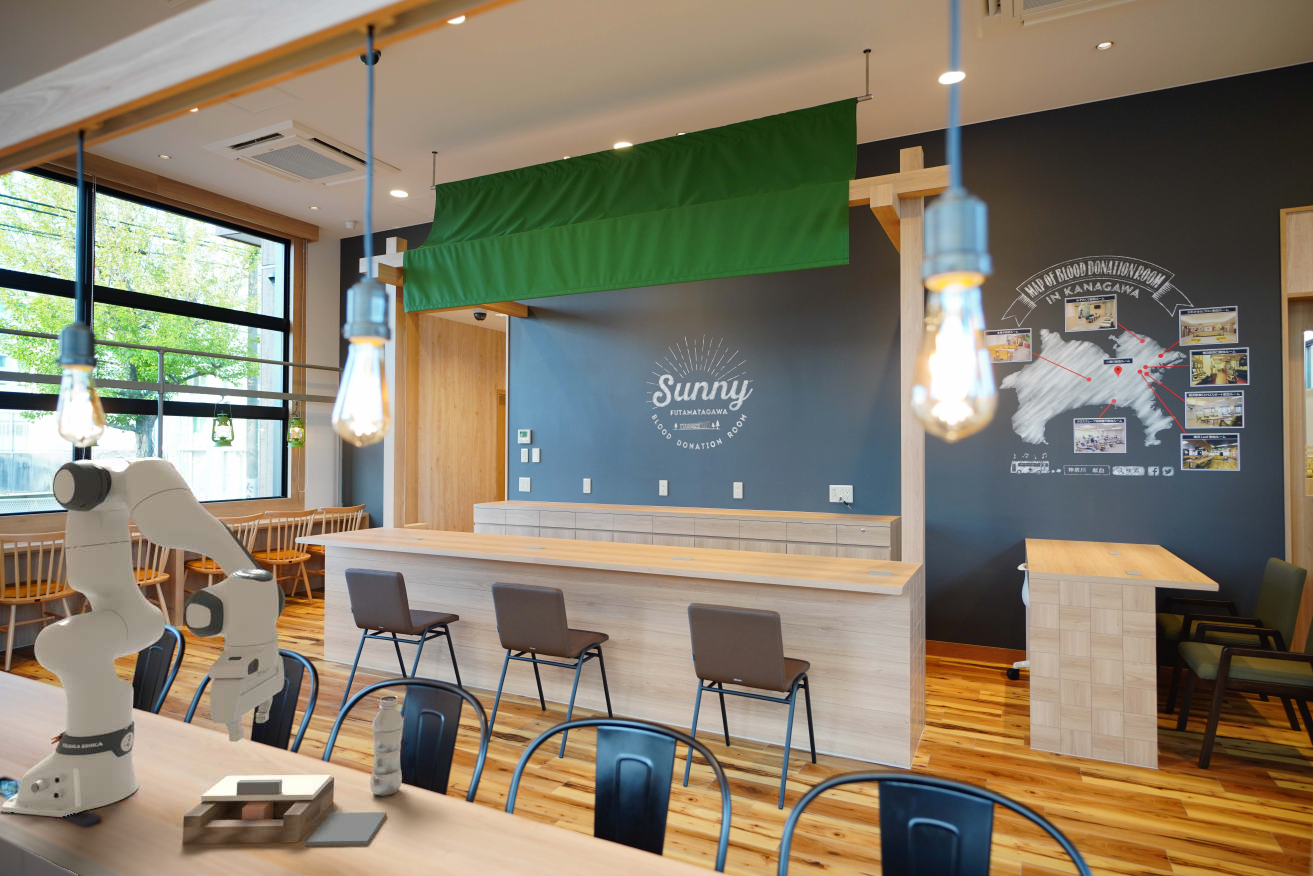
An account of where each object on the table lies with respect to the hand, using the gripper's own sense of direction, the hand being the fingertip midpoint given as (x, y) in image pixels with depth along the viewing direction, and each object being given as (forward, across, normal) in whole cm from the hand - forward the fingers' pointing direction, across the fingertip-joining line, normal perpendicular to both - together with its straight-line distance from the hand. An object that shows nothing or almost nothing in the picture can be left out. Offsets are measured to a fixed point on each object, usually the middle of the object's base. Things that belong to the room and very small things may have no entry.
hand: (249, 730), depth 133 cm
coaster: (+20, -3, +17) cm, 27 cm away
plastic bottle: (+21, -19, +19) cm, 34 cm away
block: (+20, -5, -1) cm, 21 cm away
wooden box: (+20, -7, -1) cm, 21 cm away
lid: (+15, -9, -1) cm, 17 cm away
